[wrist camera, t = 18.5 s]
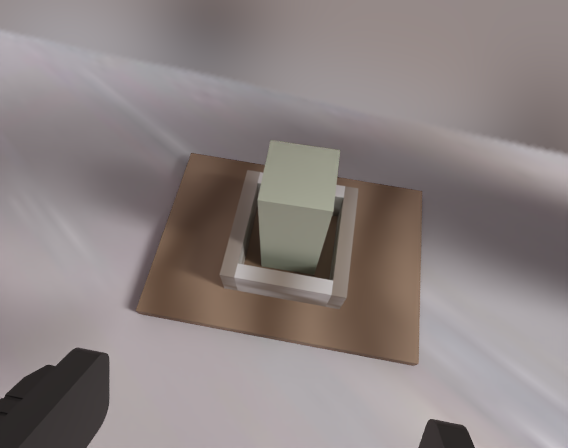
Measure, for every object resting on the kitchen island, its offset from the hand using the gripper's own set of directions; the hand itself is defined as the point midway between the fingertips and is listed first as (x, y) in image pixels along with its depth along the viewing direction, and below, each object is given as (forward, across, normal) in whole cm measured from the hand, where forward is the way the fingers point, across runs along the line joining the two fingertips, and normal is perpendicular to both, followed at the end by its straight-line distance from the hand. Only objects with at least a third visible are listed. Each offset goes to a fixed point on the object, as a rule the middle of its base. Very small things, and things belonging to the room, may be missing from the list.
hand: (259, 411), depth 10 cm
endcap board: (+21, 0, +4) cm, 22 cm away
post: (+20, 0, +4) cm, 21 cm away
